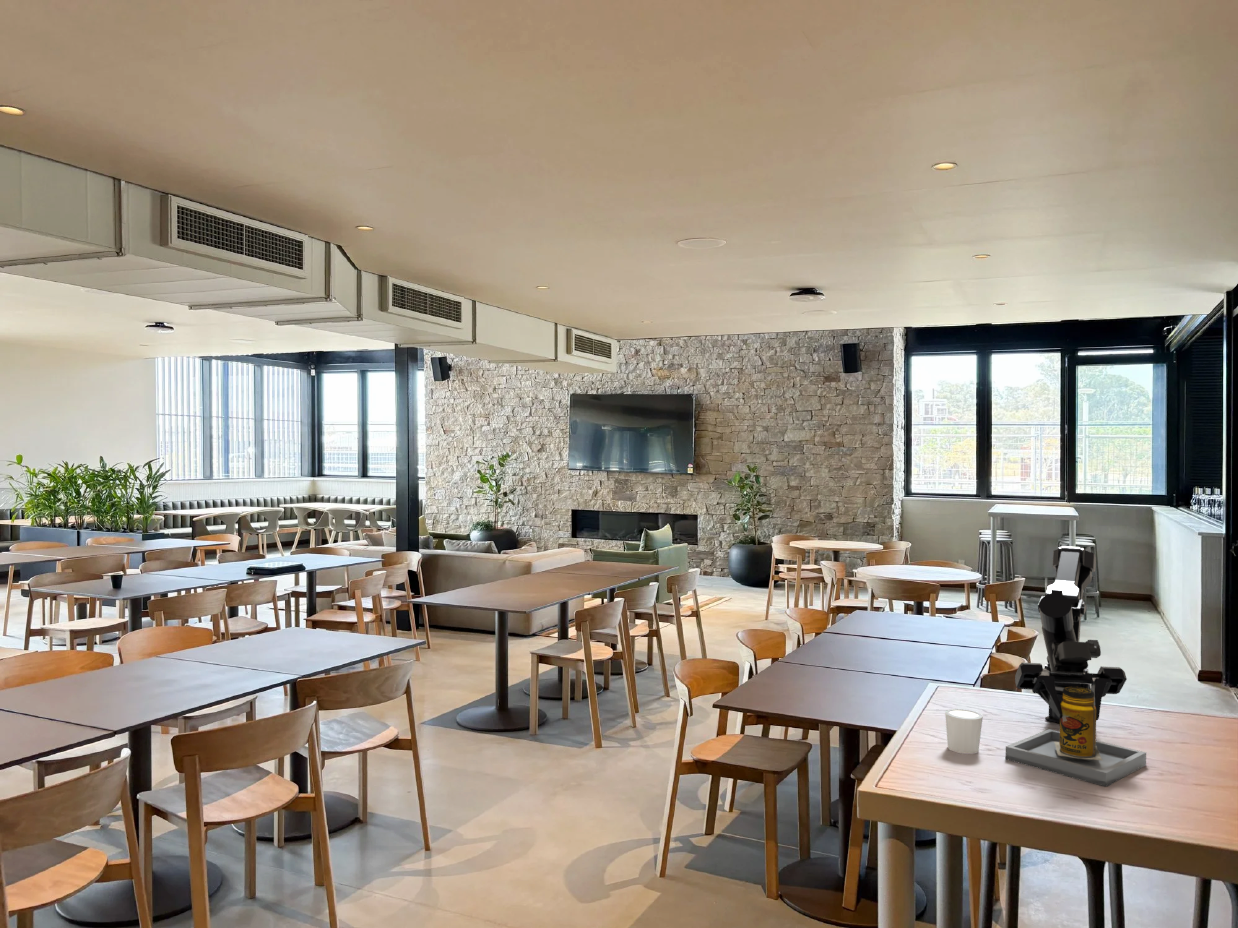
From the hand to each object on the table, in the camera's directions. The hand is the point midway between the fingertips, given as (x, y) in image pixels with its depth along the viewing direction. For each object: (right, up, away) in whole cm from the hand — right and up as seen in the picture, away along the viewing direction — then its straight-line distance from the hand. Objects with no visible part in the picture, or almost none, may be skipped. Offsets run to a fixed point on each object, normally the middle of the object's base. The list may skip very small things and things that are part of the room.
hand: (1078, 718), depth 169 cm
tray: (0, -9, +1) cm, 9 cm away
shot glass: (-19, -8, +8) cm, 22 cm away
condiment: (0, -7, +1) cm, 7 cm away
